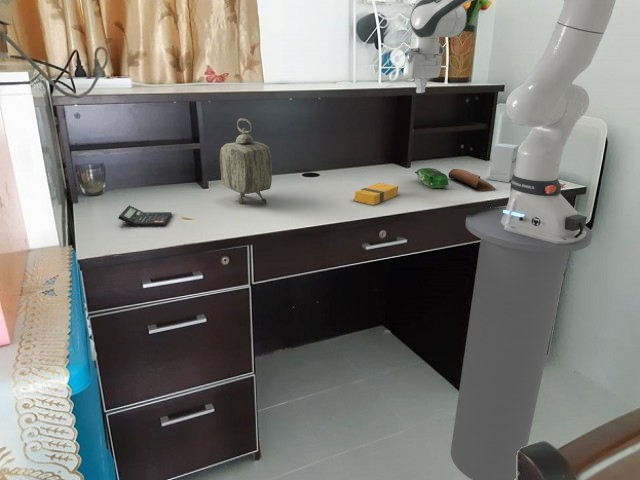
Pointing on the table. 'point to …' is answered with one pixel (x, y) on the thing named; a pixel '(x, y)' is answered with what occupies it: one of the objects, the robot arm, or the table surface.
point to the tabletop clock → (246, 165)
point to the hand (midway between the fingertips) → (420, 92)
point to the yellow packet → (376, 193)
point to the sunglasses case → (470, 179)
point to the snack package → (432, 177)
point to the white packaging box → (503, 162)
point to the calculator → (144, 217)
